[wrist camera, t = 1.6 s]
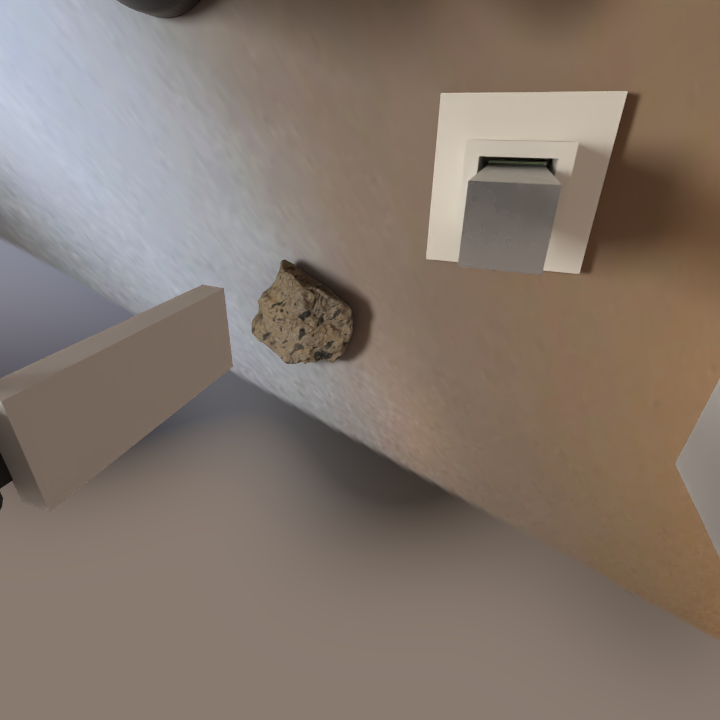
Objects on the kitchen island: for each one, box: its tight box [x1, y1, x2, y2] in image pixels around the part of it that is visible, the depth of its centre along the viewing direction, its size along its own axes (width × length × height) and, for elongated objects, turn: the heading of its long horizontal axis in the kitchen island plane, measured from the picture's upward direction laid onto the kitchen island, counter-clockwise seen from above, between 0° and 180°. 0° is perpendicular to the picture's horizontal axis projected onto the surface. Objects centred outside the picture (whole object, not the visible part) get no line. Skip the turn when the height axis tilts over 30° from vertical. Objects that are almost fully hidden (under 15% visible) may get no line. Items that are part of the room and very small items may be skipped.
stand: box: [426, 91, 628, 274], centre depth 34 cm, size 14×14×9 cm
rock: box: [252, 260, 353, 364], centre depth 49 cm, size 11×12×4 cm
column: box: [458, 160, 562, 275], centre depth 28 cm, size 4×4×20 cm
